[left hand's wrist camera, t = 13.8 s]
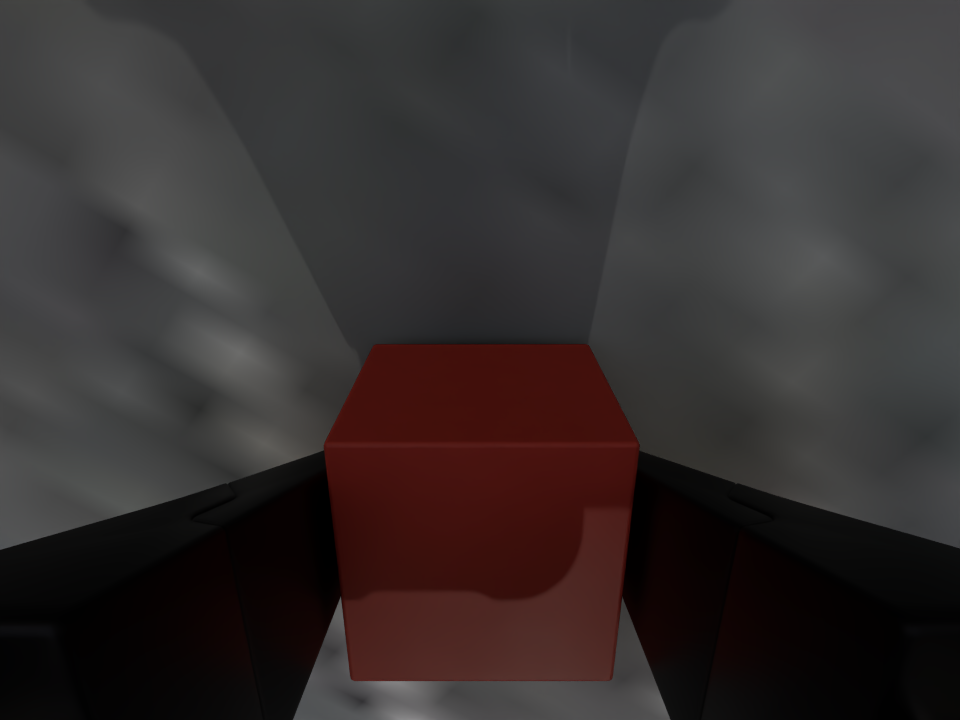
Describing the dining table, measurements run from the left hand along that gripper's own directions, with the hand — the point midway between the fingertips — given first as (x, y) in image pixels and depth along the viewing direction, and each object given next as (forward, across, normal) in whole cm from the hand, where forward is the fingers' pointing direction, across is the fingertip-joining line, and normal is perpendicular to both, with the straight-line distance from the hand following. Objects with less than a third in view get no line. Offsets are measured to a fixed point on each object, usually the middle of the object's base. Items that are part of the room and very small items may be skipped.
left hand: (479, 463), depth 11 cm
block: (+1, 0, 0) cm, 1 cm away
